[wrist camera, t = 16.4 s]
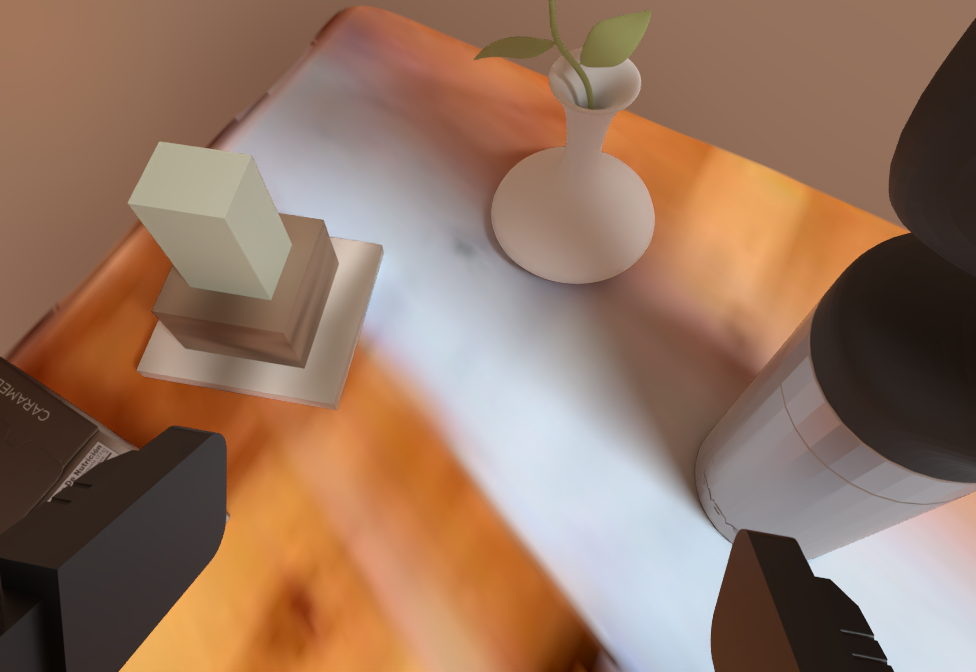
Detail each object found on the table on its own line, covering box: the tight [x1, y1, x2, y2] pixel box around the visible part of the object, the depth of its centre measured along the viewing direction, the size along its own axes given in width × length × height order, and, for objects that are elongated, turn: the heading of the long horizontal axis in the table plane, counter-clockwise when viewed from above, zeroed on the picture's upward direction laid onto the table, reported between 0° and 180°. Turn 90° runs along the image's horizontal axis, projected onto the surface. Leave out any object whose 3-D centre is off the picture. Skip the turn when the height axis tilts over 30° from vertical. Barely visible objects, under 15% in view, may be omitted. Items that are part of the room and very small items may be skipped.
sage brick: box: [128, 142, 292, 300], centre depth 39 cm, size 5×4×8 cm
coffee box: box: [0, 357, 230, 534], centre depth 34 cm, size 9×6×16 cm
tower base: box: [137, 213, 384, 410], centre depth 45 cm, size 13×12×6 cm
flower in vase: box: [474, 0, 655, 284], centre depth 40 cm, size 13×11×25 cm
